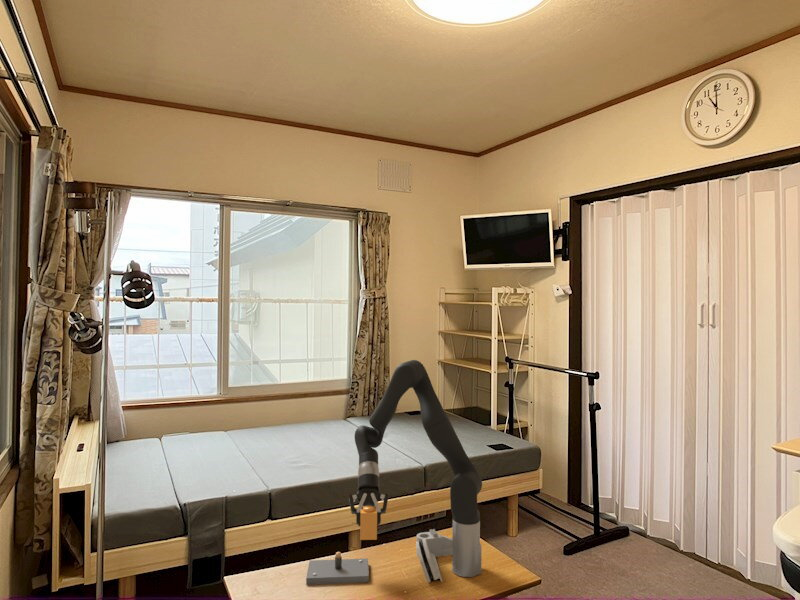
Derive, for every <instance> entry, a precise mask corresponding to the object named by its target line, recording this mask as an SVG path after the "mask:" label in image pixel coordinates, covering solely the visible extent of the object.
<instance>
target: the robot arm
mask: <svg viewBox="0 0 800 600" xmlns="http://www.w3.org/2000/svg"><path fill="white" fill-rule="evenodd" d="M409 389H412V390H413V391H414V393H415V395H416V397H417V399H418V403H419V408H420V419H421V424H422V426H423V429H424V431H425V433H426V435H427V437H428V440H429V441H430V443H431V444H432V446H433V447H434V448H435V449H436V450H437V451H438V452H439V453H440V454H441V455H442V456H443V457H444V458H445V460H446V461H447V463H448V464H449V466H450V468H451V470H452V473H453V475H454V477H453V478H452V479H451V482H450V486H449V488H450V489H449V497H450V499H449V500H450V512H451V514H452V539H453V545H452V555H451V556H452V557H451V559H452V563H451V564H452V568H451V569H452V572H453V573H454V574H456V575H457V576H459V577H464V578H473V577H476V576H478V575H482V544H481V529H480V528H481V513H480V510H478V495H479V493H480V492H481V491H482V488H483V480H482V477H481V475H480V474H479V472H478V470H477V469H476V467H475V466H474V464H473V463H472V461H471V460H470V457H469V456H468V455H467V453H466V451H465V449H464V447H463V444H462V443H461V441H460V438H459V437H458V435H457V433H456V431H455V428H454V427H453V424H452V422H451V420H450V419H449V417H448V415H447V413H446V411H445V409H444V407H443V406H442V403H441V402H440V400H439V397H438V396H437V394H436V391H435V389H434V386H433V384H432V382H431V379H430V377H429V373H428V371H427V369H426V367H425V366H424V363H422V362H421V361H419V360H417V359H411V360H407V361H405V362H402V363H399V364H398V365H397V366H396V368H395V369H394V372H393V373H392V375H391V378H390V381H389V383H388V386H387V388H386V390H385V391H384V394H383V396H382V398H381V400H380V401H379V402H378V404H377V406H376V407H375V408H374V410H373V412H372V413H371V415H370V417H369V418H368V422H369V425H370V426H371V427H370V426H367V425H359V426H358V427H357V428H356V430H355V432H354V442H355V446H356V449H357V455H358V470H357V492H356V494H352V493H350V494H348V501H349V502H348V503H349V506H350V512H351V514H352V515H356V520H355V521H356V522H355V523H356V525H358V527H360V515H361V509H362V507H364V506H366V505H371V506H374V507H375V508H376V509H377V527H379V525H381V523H382V517H381V515H382V514H386V513H387V508H388V500H389V493H385V494H383V493H381V492H380V467H379V452H378V451H377V450H376V449H375V448H378V447H380V446H381V444H382V442H383V439H384V435H385V432H386V429H387V427H388V425H389V424H390V422H391V421H392V419H394V416H395V414H396V411H397V408H398V405H399V402H400V400H401V398H402V397H403V396H404V395H405V394H406V392H407V391H408V390H409ZM380 499H381V501H382V502H383V503H382V508H381V507H380V505H379V500H380ZM356 500H357V501H358V502H359V504H358V507H357V508H355V502H356Z"/></svg>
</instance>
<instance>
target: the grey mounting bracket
mask: <svg viewBox="0 0 800 600" xmlns="http://www.w3.org/2000/svg"><path fill="white" fill-rule="evenodd" d="M422 539H426V541H427V544H428V547H429V550H430V552H431V553H433V554H435V557H437V558H438V556H439V557H445V556H446V555H447V556H452V545H453V537H452V538H451V537H449V536H445V535H442V534H441V533H440V534H439V532H438V531H436V529H435V528H433V529H432V528H431V529H429V531H424V532H419V533H417V534H416V542H418V541H420V542H421V541H422ZM421 545H422V543H421ZM422 548H423V547H422ZM415 553H416V556H417V558H419V556H418V552H417V548H416V552H415Z"/></svg>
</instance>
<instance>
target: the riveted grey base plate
mask: <svg viewBox="0 0 800 600" xmlns="http://www.w3.org/2000/svg"><path fill="white" fill-rule="evenodd" d="M369 574H370V573H369V558H348V559H347V558H343V559H342V552H341V551H337V552H335V557H334V559H316V560H315V559H314V560H309V562H308V566H307V572H306V576H305V577H306V578H305V580H306V581H305V585H324V584H325V585H327V584H328V585H330V584H333V585H334V584H352V583H353V584H355V583H356V584H357V583H358V584H359V583H369V582H370V581H369V580H370V577H369V576H370V575H369Z"/></svg>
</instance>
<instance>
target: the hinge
mask: <svg viewBox="0 0 800 600" xmlns="http://www.w3.org/2000/svg"><path fill="white" fill-rule="evenodd" d="M421 543H422V545H421ZM415 547H416V548H417V552H418V556H419V557H418V556H417V557H418V559H419V562H420V566H421V568H422V571H423V574H424V578H425V580H426V583H431V582H432V581H436V580H438V579H439V580H440V582H441V583H443V578H442V574H441V572H440V568H439V565H438V561H437V558H436V557H435V554H433V553H431V552H430V550H429V547H428V544H427V541H426V539H422V541H421V542H420V541H418V542H417V541H416V542H415ZM422 547H423V548H422Z"/></svg>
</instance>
